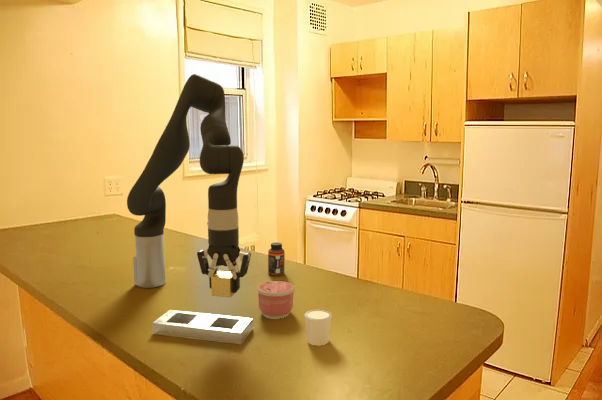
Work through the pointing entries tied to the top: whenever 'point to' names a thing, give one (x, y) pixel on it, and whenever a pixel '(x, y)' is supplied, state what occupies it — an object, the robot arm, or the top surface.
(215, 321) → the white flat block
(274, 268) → the supplement bottle
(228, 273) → the wooden toy cube
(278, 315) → the container
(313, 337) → the white cup
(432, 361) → the top surface
